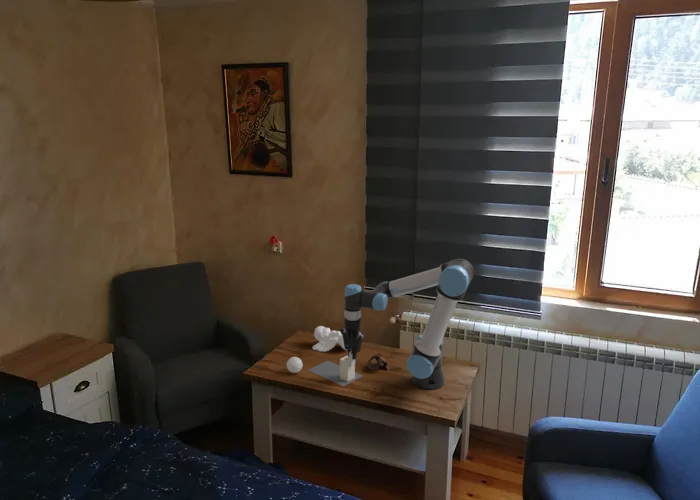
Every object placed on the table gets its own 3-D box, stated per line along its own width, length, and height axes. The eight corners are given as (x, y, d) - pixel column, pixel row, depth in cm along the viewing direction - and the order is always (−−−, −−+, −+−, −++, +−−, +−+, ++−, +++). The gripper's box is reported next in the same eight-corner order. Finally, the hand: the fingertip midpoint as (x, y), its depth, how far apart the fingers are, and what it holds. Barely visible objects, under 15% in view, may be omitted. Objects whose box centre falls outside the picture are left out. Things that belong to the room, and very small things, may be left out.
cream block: (354, 377, 259) (354, 358, 256) (347, 381, 255) (347, 362, 253) (347, 374, 262) (346, 355, 260) (340, 378, 258) (339, 358, 256)
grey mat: (363, 376, 261) (363, 375, 261) (343, 387, 251) (343, 386, 251) (327, 361, 277) (327, 360, 277) (307, 370, 267) (307, 370, 266)
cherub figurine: (344, 338, 279) (309, 328, 286) (342, 359, 283) (308, 349, 290) (353, 328, 291) (319, 319, 297) (351, 348, 295) (318, 339, 301)
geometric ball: (299, 376, 266) (307, 367, 263) (285, 375, 262) (293, 365, 258) (295, 364, 271) (303, 354, 268) (281, 362, 267) (289, 352, 263)
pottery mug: (390, 374, 264) (382, 362, 261) (372, 380, 267) (365, 369, 263) (389, 358, 275) (382, 346, 271) (373, 364, 277) (365, 352, 274)
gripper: (368, 319, 247) (367, 366, 253) (347, 311, 255) (347, 357, 261) (357, 323, 241) (357, 371, 248) (336, 316, 250) (336, 363, 256)
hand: (352, 364), depth 254 cm, fingers closed
